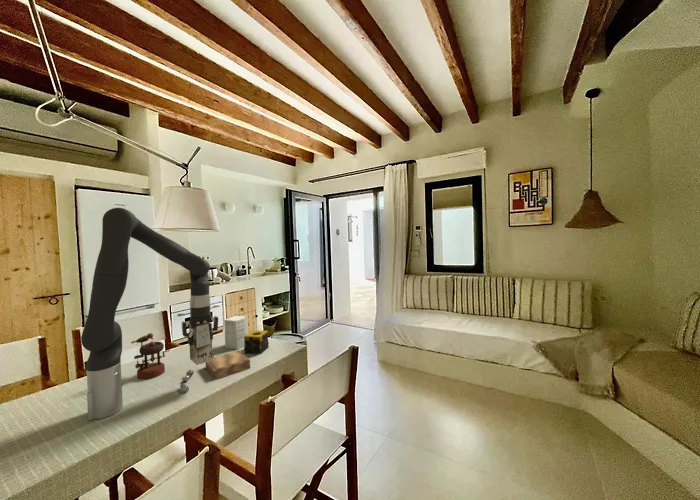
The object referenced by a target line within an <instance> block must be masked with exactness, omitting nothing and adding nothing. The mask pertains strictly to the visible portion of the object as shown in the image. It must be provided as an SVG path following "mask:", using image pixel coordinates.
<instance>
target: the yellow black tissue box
mask: <svg viewBox="0 0 700 500" xmlns="http://www.w3.org/2000/svg"><path fill="white" fill-rule="evenodd" d="M268 334H269V331H268V330H257V329H256V330H255V329H253V330H251V331H249V332H248V334H247V335H245V336H244V346H243V350H244V355H245V354H250V355H261V354H263V353H264V352H266V350H267V349H268V348H269V344H270V343H269V335H268Z"/></svg>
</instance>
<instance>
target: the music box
mask: <svg viewBox="0 0 700 500" xmlns="http://www.w3.org/2000/svg"><path fill="white" fill-rule="evenodd" d="M153 336H154V334H153V333H152V332H151V333H148V334H146V335H143V336H141V337H139V338H138V339H136V340H132V341H131V342H130V344H134V343H136V344H139V343H140V348H139V350H138V352H139V355H138V354H136V355H134V356H133V359H134V360H136V364H135V369H136V375H137V377H136V378H137V380H140V381H147V380H151V379H155V378H158V377H159V376H161V375H163V374H164V373H165V372H166V368H165V366H166V365H165V363H164V362H161V359H162V358H165V357H166V354H165V353H167V352H170V349H168V350H165V351H164V347H165V346H164V343H163V342H162V341H154V337H153ZM150 339H151V341H149V340H150ZM148 341H149V342H148ZM146 342H147V343H146ZM143 343H144V344H143ZM161 353H162V355H160V354H161ZM155 355H156V356H157V357H155ZM148 356H151V357H150V359H148ZM140 358H141V359H142V358H144V359H142V360H141V361H142V363H139V360H138V359H140ZM156 360H157V362H154V361H156ZM149 361H150V362H149Z"/></svg>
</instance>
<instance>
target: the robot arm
mask: <svg viewBox="0 0 700 500" xmlns="http://www.w3.org/2000/svg"><path fill="white" fill-rule="evenodd" d="M103 214H104V215H102V220H101V221H102V222H101V224H102V226H101V227H102V232H101V245H100V249H99V253H98V256H97V260H96V262H95V263H96V264H95V267H94V273H93V277H92V285H91V292H90V298H89V299H90V301H89V309H88V313H87V318H86V320H85V324H84V327H83V330H82V333H81V336H80V337H81V338H80V343H81V345H82V347H83V348H84V349H85V350H87V351H89V356H88V358H87V361H86V363H85V364H86V365H85V367H86V382H87V383H86V386H87V393H86V399H87V400H86V403H87V420H88V421H92V420H101V419H105V418H107V417H109V416H110V417H111V416H112V415H114V414H116V413H118V412H119V411H121V409H122V408H123V407H124V403H123V402H124V401H123V400H124V399H123V385H122V384H123V383H122V381H123V380H122V366H121V364H122V363H121V362H122V359H121V356H122V352H123V331H122V327H121V325H120V324H119V323H118V322H117V321H115V317H116V313H117V309H118V307H119V304H120V302H121V299H122V297H123V295H124V292H125V291H126V286H127V282H128V276H129V263H130V262H129V244H130V241H131V238H132V239H135V240H136V241H138V242H140V243H142V244H143V245H145V246H147V247H148V248H150V249H152V250H153V251H154V252H155V253H157V254H159V255H161V257H163V258H166V259H167V260H169V261H171V262H172V263H175V264H177V265H179V266H181V267H182V268H184V269H186V271H187V270H188V272H189V276H190V299H189V310H190V311H189V314H190V315H189V318H190V319H189V320H188V321H181V332H182V336H183V337H184V338H187V344H188V345H189V347H190V346H192V345H193V339H192V335H193V331H194V328H193V329H190V331H189V330H188V331H187V327H189V324H191V325H192V326H193V325H199V324H201V323H207V322H210V323H211V321H212V322H213V325H212V341H213V340H214V332H216V331H218V329H219V317H218V316H216V315H214V316H211V296H210V284H209V279H208V272H210V269H211V266H210V263H209V262H208V260H205V258H203V257H200V256H199V255H197V254H195V253H193V252H192V251H190V250H188V249H187V248H185V247H184V246H182V245H181V244H179V243H177V242H176V241H174V240H171V238H169V237H166V236H164V235H162V234H160V233H159V232H157V231H155V230H153V229H152V228H150V227H149V226H147V225H146V224H145V223H143V222H142V221H141V220H140V219H139V218H137V217H136V215H135V214H134V213H133V212H131V211H130V210H129V209H126V208H122V207H114V208H110V209H108V210H106V212H104V213H103Z"/></svg>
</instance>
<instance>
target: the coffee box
mask: <svg viewBox="0 0 700 500" xmlns="http://www.w3.org/2000/svg"><path fill="white" fill-rule="evenodd" d="M193 328H194V331H193V335H192V339H193V345H192V346H190V345H189V360H191V362H192V363H194V364H195V365H196V366H198V365H202V364H206V362H209V361H212V358H213V340H212V328H213V325H212V322H211V321H210V322H207V323H201V324H199V325H193V326H192V325H191V324H188V329H189V330H188V332H189V331H190V329H193Z"/></svg>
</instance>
